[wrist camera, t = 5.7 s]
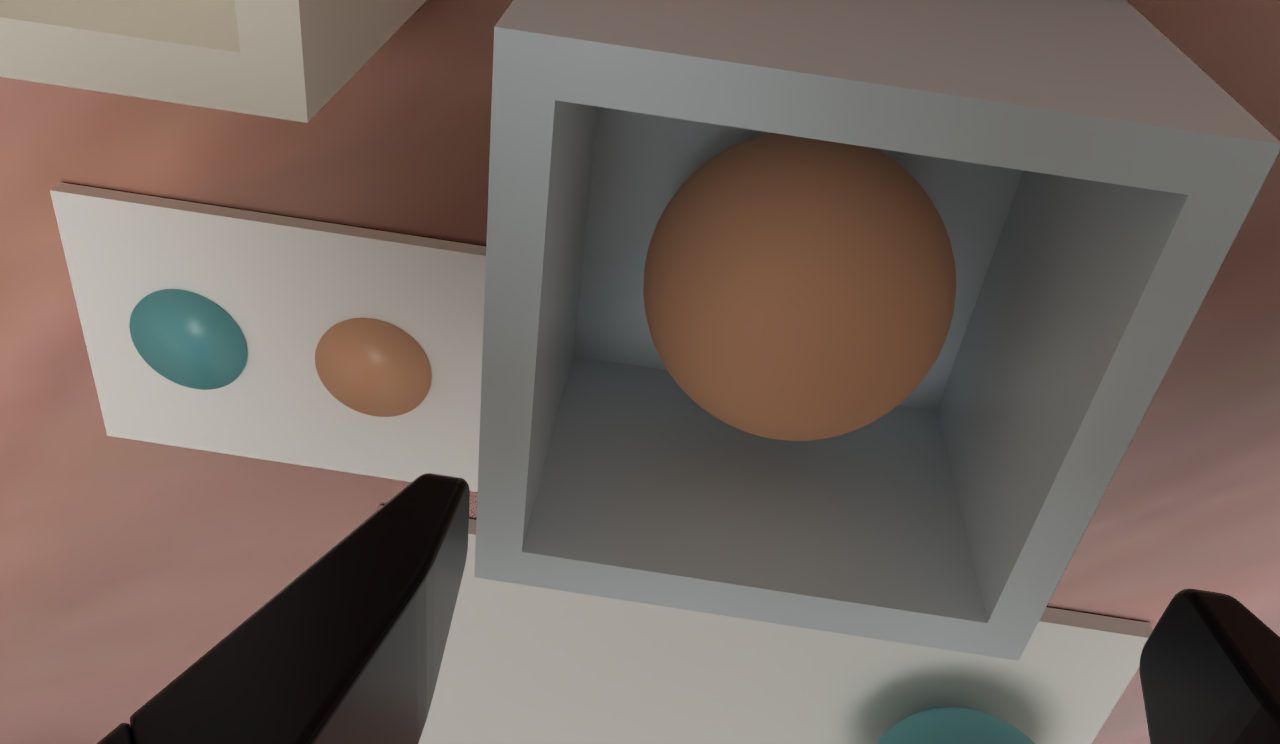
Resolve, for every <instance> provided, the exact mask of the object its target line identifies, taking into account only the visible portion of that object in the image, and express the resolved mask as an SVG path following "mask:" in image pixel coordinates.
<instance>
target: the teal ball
mask: <svg viewBox="0 0 1280 744" xmlns="http://www.w3.org/2000/svg"><path fill="white" fill-rule="evenodd" d="M876 744H1035V743H1034V742H1033V741H1032V740H1031V739H1030V738H1029V737H1027V736H1026V735H1025V734H1023V733H1022V732H1021V731H1019V730H1018V729H1017V728H1015V727H1014V726H1013V725H1011V724H1009V723H1007V722H1005V721H1003V720H1002V719H1000V718H998V717H995V716H993V715H991V714H988V713H985V712H981V711H977V710H973V709H968V708H961V707H941V708H934V709H929V710H925V711H922V712H919V713H916V714H914V715H911V716H909V717H907V718H905V719H904V720H902V721H900V722H898V723H897V724H896V725H894V726H893V727H892V728H891V729H889V730H888V731H887V732H886V733H885V734H884V735H883V736H882V737H881V738H880V739H879V740H878V742H877V743H876Z"/></svg>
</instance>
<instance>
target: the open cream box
mask: <svg viewBox="0 0 1280 744" xmlns="http://www.w3.org/2000/svg"><path fill="white" fill-rule="evenodd" d="M425 1H426V0H0V77H5V78H12V79H18V80H25V81H32V82H38V83H45V84H52V85H58V86H65V87H72V88H78V89H85V90H92V91H98V92H105V93H112V94H118V95H125V96H132V97H138V98H145V99H152V100H158V101H165V102H172V103H178V104H185V105H192V106H198V107H205V108H211V109H218V110H225V111H231V112H238V113H245V114H251V115H258V116H265V117H271V118H278V119H285V120H291V121H298V122H305V123H308V122H309V121H310V120H311V119H312V118H313V117H314V116H315V115H316V114H317V113H318V112H319V111H320V110H321V109H322V108H323V107H324V106H325V105H326V104H327V102H328V101H329V100H330V99H331V98H332V97H333V96H334V95H335V94H336V93H337V92H338V91H339V90H340V89H341V88H342V87H343V86H344V85H345V84H346V83H347V82H348V81H349V80H350V79H351V78H352V77H353V76H354V75H355V74H356V73H357V72H358V70H359V69H360V68H361V67H362V66H363V65H364V64H365V63H366V62H367V61H368V60H369V59H370V58H371V57H372V56H373V55H374V54H375V53H376V52H377V51H378V50H379V49H380V48H381V47H382V46H383V45H384V44H385V43H386V42H387V41H388V40H389V39H390V37H391V36H392V35H393V34H394V33H395V32H396V31H397V30H398V29H399V28H400V27H401V26H402V25H403V24H404V23H405V22H406V21H407V20H408V19H409V18H410V17H411V16H412V15H413V14H414V13H415V12H416V11H417V10H418V9H419V8H420V7H421V5H422V4H423V3H424V2H425Z"/></svg>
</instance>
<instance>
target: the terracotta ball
mask: <svg viewBox="0 0 1280 744" xmlns="http://www.w3.org/2000/svg"><path fill="white" fill-rule="evenodd" d="M643 295H644V307H645V313H646V318H647V322H648V326H649V330H650V334H651V337H652V340H653V342H654V345H655V347H656V350H657V352H658V354H659V356H660V358H661V360H662V361H663V363H664V365H665V367H666V368H667V370H668V372H669V374H670V375H671V376H672V377H673V379H674V380H675V381H676V383H677V384H678V385H679V386H680V388H681V389H682V390H683V391H684V392H685V393H686V394H687V395H688V396H689V397H690V398H691V399H692V400H693V401H694V402H695V403H696V404H697V405H699V406H700V407H701V408H703V409H704V410H705V411H707V412H708V413H709V414H711V415H712V416H714V417H716V418H718V419H719V420H721V421H723V422H724V423H726V424H728V425H731V426H733V427H735V428H737V429H740V430H742V431H744V432H747V433H751V434H754V435H757V436H761V437H766V438H770V439H776V440H787V441H809V440H819V439H825V438H830V437H835V436H839V435H842V434H845V433H849V432H852V431H855V430H857V429H859V428H861V427H864V426H866V425H868V424H870V423H872V422H873V421H875V420H877V419H878V418H880V417H882V416H884V415H885V414H887V413H888V412H890V411H891V410H892V409H894V408H895V407H896V406H898V405H899V404H900V403H902V402H903V401H904V400H905V399H906V398H907V397H908V396H909V395H910V394H911V393H912V392H913V391H914V390H915V389H916V387H917V386H918V385H919V384H920V382H921V381H922V380H923V379H924V377H925V376H926V375H927V374H928V372H929V371H930V369H931V368H932V366H933V364H934V363H935V361H936V359H937V358H938V356H939V354H940V352H941V349H942V347H943V345H944V342H945V340H946V337H947V335H948V332H949V329H950V325H951V321H952V318H953V314H954V305H955V296H956V267H955V262H954V256H953V252H952V247H951V242H950V238H949V236H948V233H947V230H946V228H945V225H944V222H943V220H942V218H941V216H940V214H939V213H938V211H937V209H936V207H935V206H934V204H933V202H932V200H931V198H930V197H929V196H928V194H927V193H926V192H925V191H924V189H923V188H922V187H921V186H920V184H919V183H918V182H917V181H916V180H915V179H914V178H913V177H912V176H911V175H910V174H909V173H908V172H907V171H906V170H905V169H903V168H902V167H901V166H900V165H899V164H898V163H897V162H895V161H894V160H892V159H891V158H889V157H888V156H887V155H885V154H884V153H882V152H880V151H878V150H876V149H874V148H871V147H864V146H857V145H851V144H844V143H837V142H831V141H824V140H817V139H811V138H804V137H797V136H791V135H784V134H777V133H771V134H766V135H762V136H759V137H756V138H752V139H749V140H746V141H744V142H742V143H739V144H737V145H735V146H733V147H730V148H729V149H727V150H725V151H724V152H722V153H720V154H719V155H717V156H715V157H713V158H712V159H710V160H709V161H708V162H706V163H705V164H704V165H703V166H701V167H700V168H699V169H697V170H696V171H695V172H694V173H693V174H692V175H691V176H690V177H689V178H688V179H687V180H686V181H685V182H684V183H683V184H682V186H681V187H680V188H679V190H678V191H677V192H676V194H675V195H674V196H673V198H672V199H671V200H670V202H669V203H668V204H667V206H666V208H665V210H664V211H663V213H662V215H661V217H660V219H659V221H658V223H657V225H656V228H655V231H654V233H653V236H652V239H651V242H650V245H649V248H648V252H647V257H646V262H645V270H644V287H643Z"/></svg>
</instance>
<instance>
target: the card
mask: <svg viewBox="0 0 1280 744" xmlns="http://www.w3.org/2000/svg"><path fill="white" fill-rule="evenodd" d="M50 194H51V198H52V202H53V206H54V211H55V215H56V219H57V223H58V228H59V232H60V236H61V240H62V245H63V249H64V253H65V257H66V262H67V266H68V270H69V274H70V279H71V283H72V287H73V292H74V296H75V300H76V304H77V309H78V313H79V317H80V321H81V326H82V330H83V334H84V338H85V343H86V347H87V351H88V355H89V360H90V364H91V368H92V372H93V377H94V381H95V385H96V389H97V394H98V398H99V402H100V407H101V411H102V415H103V419H104V424H105V428H106V432H107V436H113V437H120V438H126V439H133V440H139V441H146V442H152V443H159V444H165V445H172V446H178V447H185V448H191V449H198V450H205V451H211V452H218V453H224V454H231V455H237V456H244V457H250V458H257V459H263V460H270V461H276V462H283V463H290V464H296V465H303V466H309V467H316V468H322V469H329V470H335V471H342V472H348V473H355V474H361V475H368V476H375V477H381V478H388V479H394V480H401V481H407V482H413V481H414V480H415V479H416V478H418V477H419V476H421V475H423V474H426V473H432V474H438V475H445V476H452V477H458V478H463V479H464V480H465V481H466V482H467V483H468V485H469V491H473V492H478V464H479V437H480V409H481V381H482V353H483V326H484V298H485V270H486V247H485V246H479V245H472V244H466V243H459V242H452V241H446V240H439V239H432V238H426V237H419V236H413V235H406V234H399V233H393V232H386V231H379V230H373V229H366V228H360V227H353V226H346V225H340V224H333V223H326V222H320V221H313V220H307V219H300V218H293V217H287V216H280V215H274V214H267V213H260V212H254V211H247V210H240V209H234V208H227V207H221V206H214V205H207V204H201V203H194V202H187V201H181V200H174V199H168V198H161V197H154V196H148V195H141V194H134V193H128V192H121V191H115V190H108V189H101V188H95V187H88V186H81V185H75V184H68V183H62V182H60V183H59V184H57V185H56V186H55V187H53V188H52V189H51V190H50Z"/></svg>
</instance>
